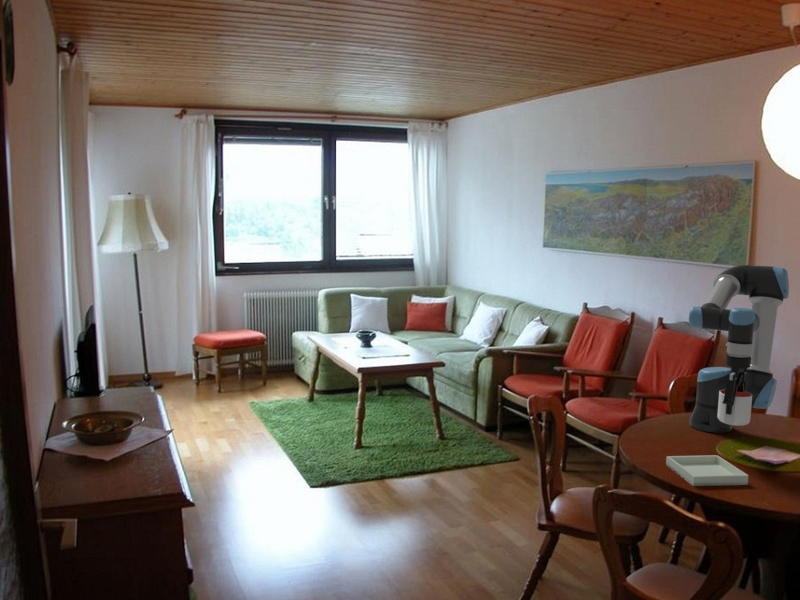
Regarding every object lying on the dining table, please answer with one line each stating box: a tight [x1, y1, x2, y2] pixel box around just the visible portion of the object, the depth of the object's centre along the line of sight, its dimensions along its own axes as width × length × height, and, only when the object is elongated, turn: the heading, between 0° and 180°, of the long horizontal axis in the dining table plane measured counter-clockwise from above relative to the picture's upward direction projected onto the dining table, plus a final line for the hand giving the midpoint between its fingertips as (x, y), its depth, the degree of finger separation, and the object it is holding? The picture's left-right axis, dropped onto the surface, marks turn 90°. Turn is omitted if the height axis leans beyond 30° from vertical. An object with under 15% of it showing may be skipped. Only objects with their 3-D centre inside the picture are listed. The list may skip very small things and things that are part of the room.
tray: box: [665, 454, 749, 487], centre depth 226 cm, size 18×18×3 cm
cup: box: [717, 390, 752, 427], centre depth 239 cm, size 10×10×10 cm
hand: (733, 419), depth 239 cm, fingers closed on cup, 10 cm apart
